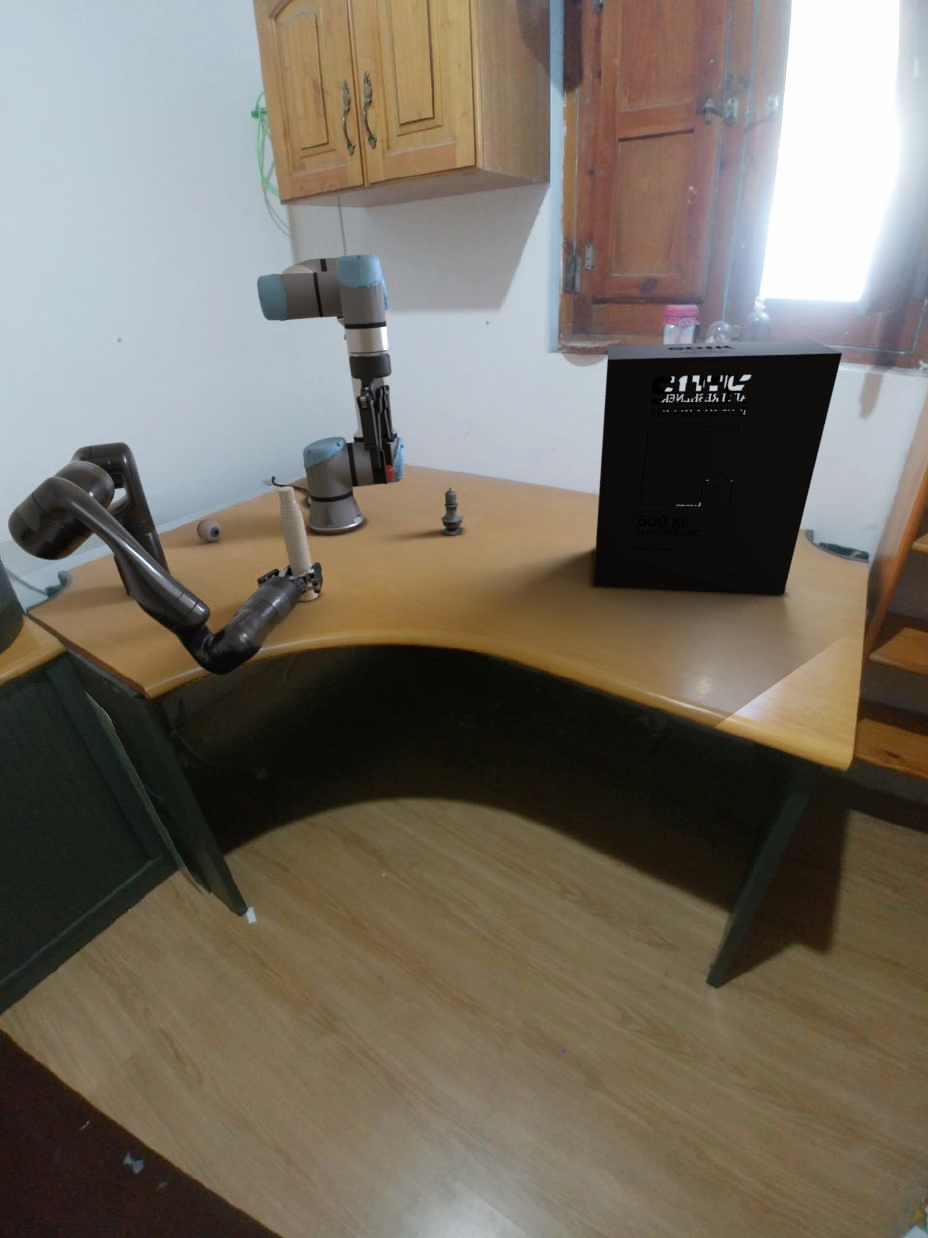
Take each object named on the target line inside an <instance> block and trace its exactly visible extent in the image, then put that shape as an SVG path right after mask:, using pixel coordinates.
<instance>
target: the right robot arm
mask: <svg viewBox="0 0 928 1238" xmlns="http://www.w3.org/2000/svg"><path fill="white" fill-rule="evenodd" d="M256 287H257V294H258V301H259V304H260V309H261V312H262V316H263V317H264V318H265V319H266V320H267V321H280V322H285V321H290V320H304V319H305V320H306V319H316V318H317V319H318V318H333V317H334V318H336V321H337V323H339V324H340V325H341V326H342V327H343V329H344V334H343V339H344V341H345V342H346V349H347V357H348V364H349V365H348V366H349V371H350V379H351V387H352V395H353V402H354V409H355V417H356V422H357V423H356V424H357V429H356V430H355V431H354V433H353V435H352V437H353V442H347V440H346V438H345V437H343V436H331V437H327V438H321V439H318V440H315V441H313V442H310V443H309V444H308V445H306V446H305V447H304V448H303V450H302V457H303V467H304V469H305V470H304V471H305V474H306V475H305V476H306V481H307V486H308V489H306V488H304V487H301V486H297V485H291V484H279V483H276V482H275V480H276V476H274V475H273V476H272V477H271V483H272V485H273V486H275V487H278V488H281V487H286V486H291V487H293V488H294V489H296V490H300V491H303V492H305V493H306V494H307V495H306V497H305V498H304V503H305V504H306V505H307V506H308V507H309V513H308V521H307V524H308V528H309V529H308V530H310V531H311V532H312V533H314V534H317V535H323V536H324V535H325V536H327V535H329V536H331V535H339V534H340V535H341V534H345V533H350V532H353V531H355V530H357V529H359V528H361V527H362V526H363V525H364V523H365V519H364V514H363V512H362V510H361V508H360V505H359V504H358V501H357V500H356V498H355V495H354V489H353V488H355V487H367V486H374V485H375V486H376V485H386V486H387V485H388V484H393V483H398V482H400V481H401V480H402V479H403V476H404V470H405V469H404V467H405V443H404V438H402V437H400V436H398V431H397V430H396V429H395V428H394V427H393V417H392V410H391V400H390V399H391V398H390V390H391V389H390V385H389V384H386V378H387V377H389V376H391V375H392V362H391V355H390V353H387V352H388V351H389V350H390V341H389V333H388V326H387V319H386V310H388V309H389V306H390V305H389V298H388V293H387V288H386V283H385V278H384V275H383V271H382V268H381V261H380V259H379V257H378V256H377V255H376V254H371V253H369V254H367V253H366V254H351V255H350V254H349V255H341V256H338V257H327V258H326V257H325V258H324V257H323V258H311V259H307V260H304V261H300V262H298V263H295V264H293V265H289V266H287V267H286V268H285V269H284V270H283V271H282V272H281V273H271V274H265V275H264V274H263V275H260V276H259V277H257V281H256ZM386 465H392V466H393V469H394V476H395V478H394V479H393V480H391V481H388V480H387V472H386ZM309 498H310V502H309Z"/></svg>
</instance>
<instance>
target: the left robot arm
mask: <svg viewBox="0 0 928 1238" xmlns="http://www.w3.org/2000/svg"><path fill="white" fill-rule="evenodd" d="M134 455H135V454H134V453H133V451H132V449H131V448H130V446H129V445H128V444H127V443H125V442H123V441H118V442H117V441H116V442H109V443H108V442H107V443H100V444H99V443H98V444H93V445H85V446H82V447H80V448H78V449H77V450H76V451H75V452H74V453H73V455H72V457H71V459H70V460H69V463H67V465H65V466H63V467H62V468H60V469H59V470H58V471H56V473H55V474H54V475H53V476H51V477H50V476H49V477H47V478H45V480H44V481H42V482H41V483H40V484H39V485H38V486H37V487H36V488H35V489H33V491H32V492H30V494H29V495H28V496H26V497H25V498H24V499H23V500H22V501H21V503H20V504H18V505H17V506H16V507H15V508H14V509H13V511H12V512H11V514H10V515H9V517H8V520H7V528H8V531H9V534H10V536H11V538H12V540H13V541H14V542H15V544H16V545H17V546H18V547H19V548H20V549H22V550H23V551H24V552H25V553H27V554H29V555H31V556H32V557H35V558H38V559H42V560H45V561H59V560H64V559H65V558H67V557H70V556H71V555H72V554H73V553H75V551H77V550H78V549H79V548H80V547H81V546H82V545H83V544H84V543H85V542H86V541H88V539H89V538H91V537H92V536H93V534H95V535H96V536H97V537H98V538H99V539H100V540H102V542H103V543H105V544H106V545H107V547H108V548H109V550H111V552H112V553H113V556H112V558H113V561H114V563H115V566H116V569H117V570H116V571H117V572H118V575H119V578H120V580H121V583H122V585H123V587H124V590H125V593H126V595H130V597H132V598H133V599H134V601H135V602H136V604H137V605H138V607H139V608H140V609H141V610H142V611H143V612H144V613H145V614H146V615H147V616H148V617H150V618H151V619H153V620H154V621H155V622H157V623H158V624H159V625H161V626H162V627H163V628H165V629H166V630H167V631H168V632H170V633H171V634H173V635H174V636H175V637H176V638H177V640H178V641H179V643H181V645H182V646H183V647H184V649H185V650H186V651H187V652H188V653H189V655H190V656H191V658H192V659H193V660H194V661H195V662H196V663H197V665H198V666H199V667H201V668H202V669H203V670H205V671H206V672H209V673H210V674H212V675H213V674H214V675H218V676H225V675H227V674H230V673H231V672H233V671H235V670H236V669H237V668H240V667H241V666H242V665H244V664H245V663H246V662H249V661H250V660H251V659H253V657H255V655H257V653H258V652H259V651H260V650H261V648H262V647H263V646H264V643H265V641H266V640H267V637H268V636H269V635H270V634H271V633H272V632H273V631H274V630H275V629H276V627H277V626H278V625H280V624H282V622H283V621H285V619H286V618H287V616H289V614H290V613H291V612H292V611H293V610H294V608H295V607H296V606H297V605H298V603H299V601H300V600H299V599H300V596H301V595H303V594H305V593H306V592H307V591H309V590H313V591H314V593H318V594H320V593H321V592H322V587H323V583H324V580H323V573H322V571H323V569H322V564H321V563H320V562H318V561H316V562H314V563H313V564H312V567H311V568H310V569H309V570H308V571H306V572H303V571H302V572H300V573H298V574H297V575H295V576H292V572H291V568H290V563H289V564H288V565H287V566H286V567H282V568H281V569H280V570H279V568H273V569H272V570H270V571H269V572H267V573H265V574H262V576H260V577H258V578H257V579H256V582H257V586H258V588H257V589H256V590H255V591H254V592H253V593H252V594H251V595H250V596H249V598H248V599H247V600H246V602H245V603H244V604H243V605H242V606H241V607H240V608H239V609H237V611H236V612H235V613H234V615H233V616H232V618H231V620H230V621H229V622H227V623H226V624H225V625H224V626H222V627H221V628H220V629H218V630H217V631H215V632H214V633H213V631H211V629H210V627H209V626H208V625H207V622H208V621H209V619H210V617H211V608H210V607H209V605H208V604H206V602H204V601H203V600H202V599H201V598H199V597H198V596H197V595H196V594H194V593H193V592H192V591H191V590H190V589H189V588H187V587H186V586H184V585H183V583H181V582H179V581H178V580H177V579H176V578H175V577H173V575H172V574H171V570H170V568H169V564H168V561H167V558H166V555H165V552H164V549H163V546H162V544H161V540H160V537H159V534H158V531H157V528H156V524H155V522H154V519H153V515H152V513H151V510H150V508H149V504H148V499H147V497H146V494H145V490H144V487H143V484H142V481H141V476H140V473H139V469H138V466H137V461H136V458H135V456H134ZM119 489H121V490H122V489H124V491H125V493H124V495H123V496H122V497H120V498H118V500H115V501H114V498H115V492H116V490H119ZM113 501H114V502H113ZM309 575H310V579H309Z"/></svg>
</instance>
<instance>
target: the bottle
mask: <svg viewBox="0 0 928 1238" xmlns="http://www.w3.org/2000/svg"><path fill="white" fill-rule="evenodd" d="M294 490H295V488H293V487H291V486H286V487H278V489H277V493H278V496H279V502H280V503H279V520H280V525H281V530H282V534H283V540H284V543H285V549H286V553H287V554H286V555H287V558H288V563H289V564H290V568H291V572H292V576H295V575H297V574H298V573H300V572H302V571H303V572H306V571H308V570H309V569H310V568H311V567H312V566H313V562H312V557H311V551H310V546H309V542H308V541H309V540H308V536H307V530H306V525H305V519H304V516H303V511H302V510H301V507H300V505H299V504H298V501H297V500H296V494H295V491H294ZM309 579H310V575H309ZM318 596H319V593H314V591H313V590H309V591H307V592H306V593H305V594H303V595H301V596H300V599H299V601H301V602H309V601H312V600H314V599H317V597H318Z"/></svg>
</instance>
